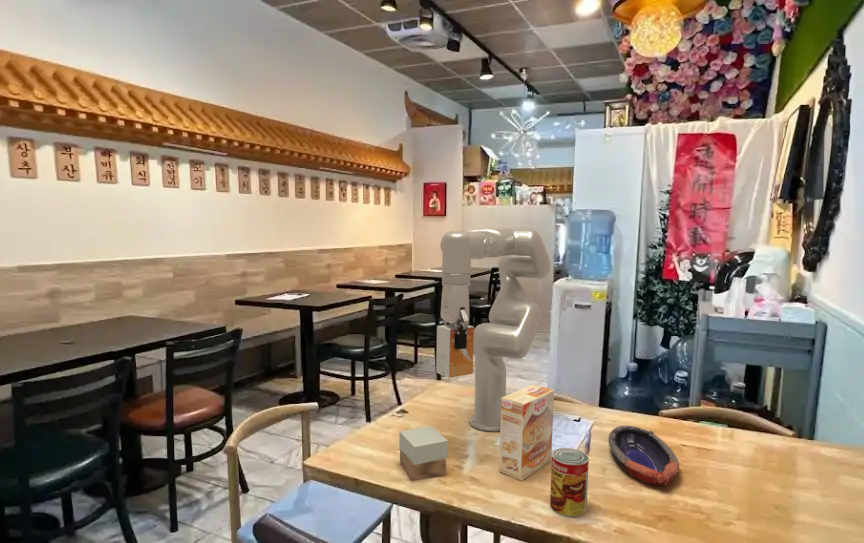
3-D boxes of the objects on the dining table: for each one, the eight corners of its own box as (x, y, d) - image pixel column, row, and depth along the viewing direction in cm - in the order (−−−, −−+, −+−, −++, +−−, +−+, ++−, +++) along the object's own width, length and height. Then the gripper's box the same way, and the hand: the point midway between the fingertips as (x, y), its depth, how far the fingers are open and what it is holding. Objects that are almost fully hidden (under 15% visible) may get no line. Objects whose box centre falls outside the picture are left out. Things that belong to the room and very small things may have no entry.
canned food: (545, 498, 119) (547, 448, 118) (579, 497, 120) (580, 447, 119) (556, 518, 112) (558, 464, 110) (592, 516, 112) (594, 463, 111)
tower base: (432, 458, 139) (432, 442, 139) (445, 476, 130) (445, 459, 129) (400, 464, 136) (400, 447, 136) (411, 482, 127) (411, 464, 126)
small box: (449, 378, 136) (449, 329, 134) (435, 372, 141) (436, 325, 140) (473, 374, 140) (474, 326, 139) (459, 368, 145) (460, 322, 144)
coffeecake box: (521, 481, 127) (524, 404, 125) (497, 471, 132) (499, 397, 130) (552, 460, 138) (555, 389, 136) (529, 452, 143) (531, 383, 141)
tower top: (430, 442, 139) (430, 425, 139) (447, 457, 130) (447, 440, 130) (399, 448, 135) (399, 431, 135) (414, 464, 126) (414, 447, 126)
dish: (655, 440, 151) (656, 424, 151) (693, 497, 121) (694, 476, 120) (599, 437, 153) (600, 421, 153) (623, 492, 123) (624, 471, 122)
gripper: (432, 276, 145) (431, 338, 147) (454, 283, 128) (452, 354, 130) (458, 275, 147) (456, 337, 149) (482, 283, 131) (480, 352, 132)
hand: (455, 344), depth 140 cm, fingers closed on small box, 7 cm apart
